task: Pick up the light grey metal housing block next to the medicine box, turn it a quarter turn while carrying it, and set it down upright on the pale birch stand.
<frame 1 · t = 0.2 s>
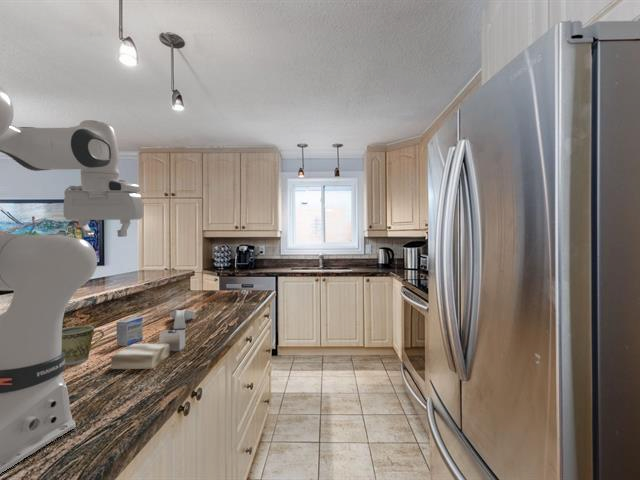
hand: (105, 236, 87), 39 cm above the counter, tool pointing down, fingers open, 8 cm apart
ceramic cup: (80, 361, 100), on the counter
spoon rest: (182, 323, 147), on the counter
stand: (142, 361, 99), on the counter
medicine box: (130, 343, 118), on the counter
housing: (172, 348, 111), on the counter
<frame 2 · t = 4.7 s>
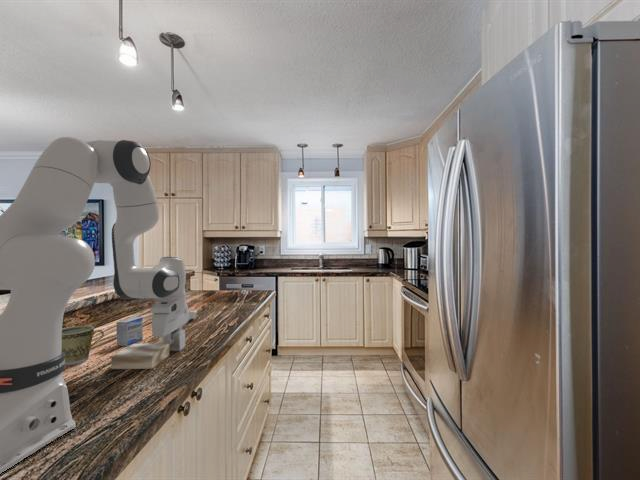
hand: (172, 342, 111), 2 cm above the counter, tool pointing down, fingers closed on housing, 4 cm apart
housing: (172, 348, 111), on the counter, touching gripper
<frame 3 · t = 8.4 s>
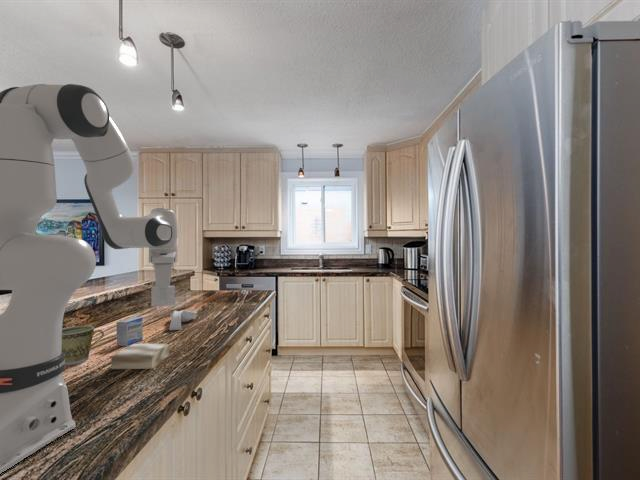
hand: (163, 298, 107), 18 cm above the counter, tool pointing down, fingers closed on housing, 4 cm apart
housing: (163, 304, 107), point 16 cm above the counter, touching gripper
when the fingers open (8 cm above the counter, at t = 12.2 s): housing drops 1 cm, resting on stand.
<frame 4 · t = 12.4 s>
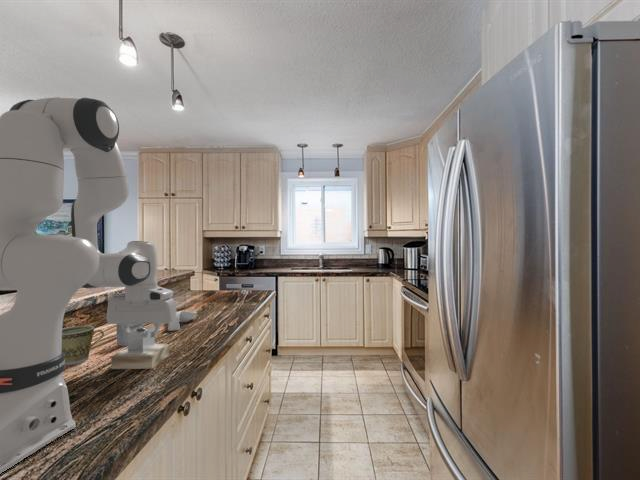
hand: (141, 337, 99), 8 cm above the counter, tool pointing down, fingers open, 6 cm apart
housing: (141, 348, 99), point 4 cm above the counter, touching stand
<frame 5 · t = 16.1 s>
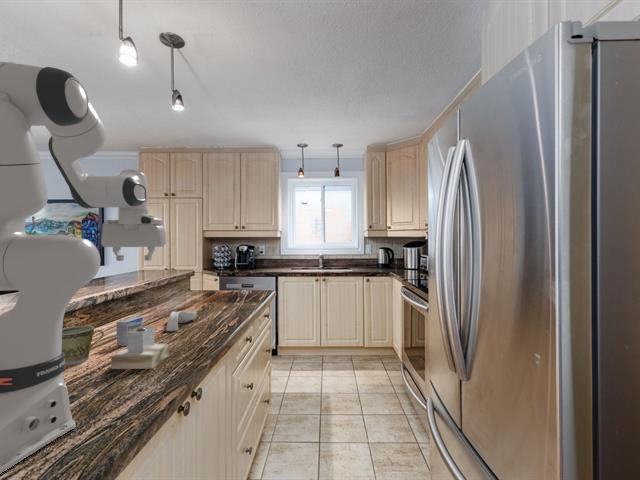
hand: (134, 260, 107), 31 cm above the counter, tool pointing down, fingers open, 8 cm apart
at the end: housing inside the target area on the stand (0.0 cm from its centre), point 4.0 cm above the stand's base; housing tilted 0°; the gripper is holding nothing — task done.
